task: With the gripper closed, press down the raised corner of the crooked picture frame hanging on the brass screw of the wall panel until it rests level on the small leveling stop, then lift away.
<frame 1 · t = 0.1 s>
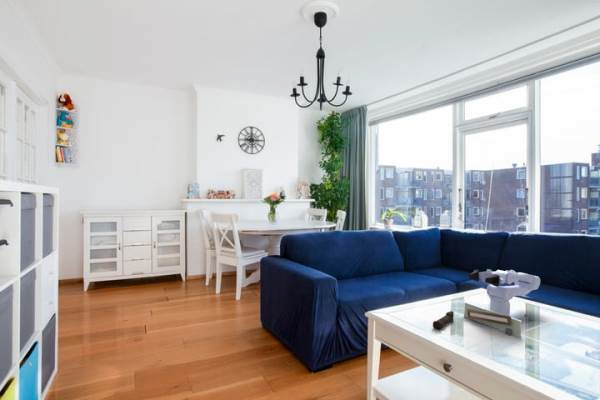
hand: (477, 278, 157), 22 cm above the table, tool horizontal, fingers open, 7 cm apart
picture frame: (488, 317, 155), point 5 cm above the table, hinge at 10.0°
wall panel: (490, 325, 156), on the table
hand tool: (443, 324, 156), on the table
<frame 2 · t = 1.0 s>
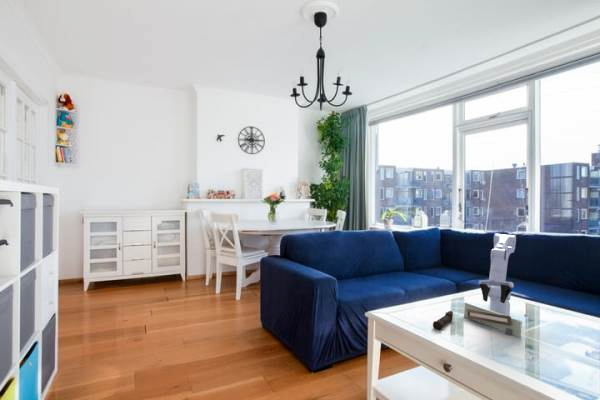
hand: (493, 301, 149), 14 cm above the table, tool tilted 30°, fingers open, 7 cm apart
nothing on the table moved.
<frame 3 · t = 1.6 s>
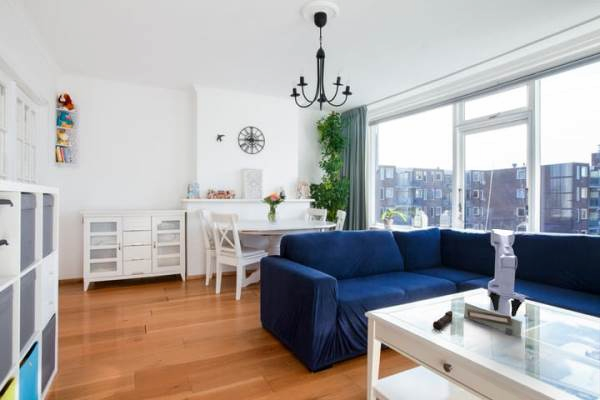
hand: (504, 313, 147), 9 cm above the table, tool pointing down, fingers open, 7 cm apart
nothing on the table moved.
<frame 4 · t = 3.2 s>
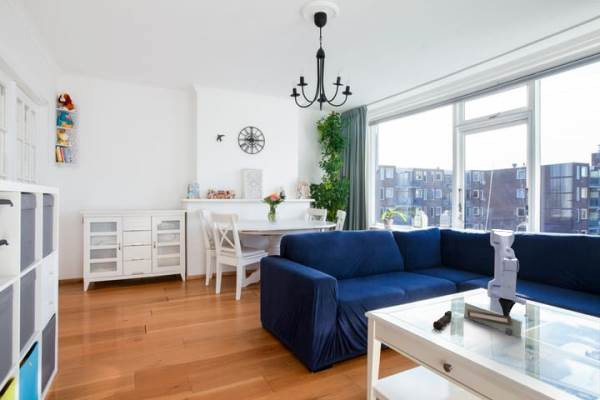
hand: (506, 315, 148), 8 cm above the table, tool pointing down, fingers closed, pressing on picture frame
picture frame: (488, 317, 155), point 5 cm above the table, hinge at 10.0°, touching gripper
everything else where it was.
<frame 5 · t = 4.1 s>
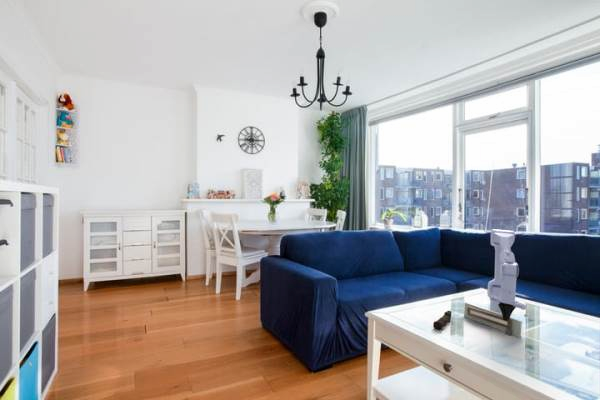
hand: (506, 320, 148), 6 cm above the table, tool pointing down, fingers closed, pressing on picture frame
picture frame: (488, 317, 155), point 5 cm above the table, hinge at 2.1°, touching gripper
everything else where it was.
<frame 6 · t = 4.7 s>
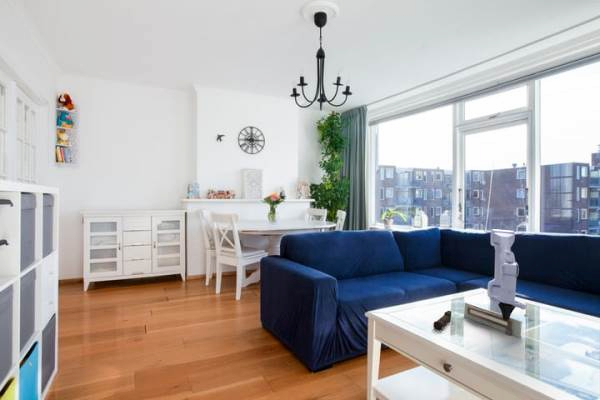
hand: (505, 320, 148), 6 cm above the table, tool pointing down, fingers closed, pressing on picture frame
picture frame: (488, 317, 155), point 5 cm above the table, hinge at 0.2°, touching gripper
everything else where it was.
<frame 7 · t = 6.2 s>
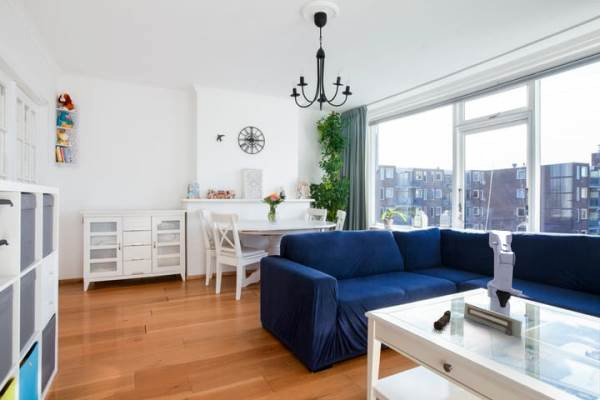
hand: (502, 307, 153), 10 cm above the table, tool pointing down, fingers closed
picture frame: (488, 317, 155), point 5 cm above the table, hinge at 0.2°
everything else where it was.
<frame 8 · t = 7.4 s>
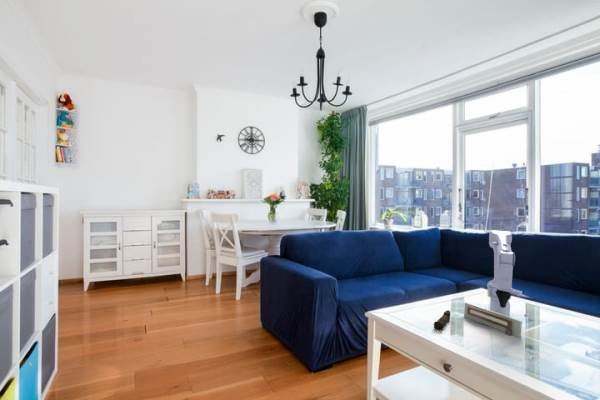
hand: (502, 307, 153), 10 cm above the table, tool pointing down, fingers closed
nothing on the table moved.
at the end: picture frame at +0° (first picture: +10°) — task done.
